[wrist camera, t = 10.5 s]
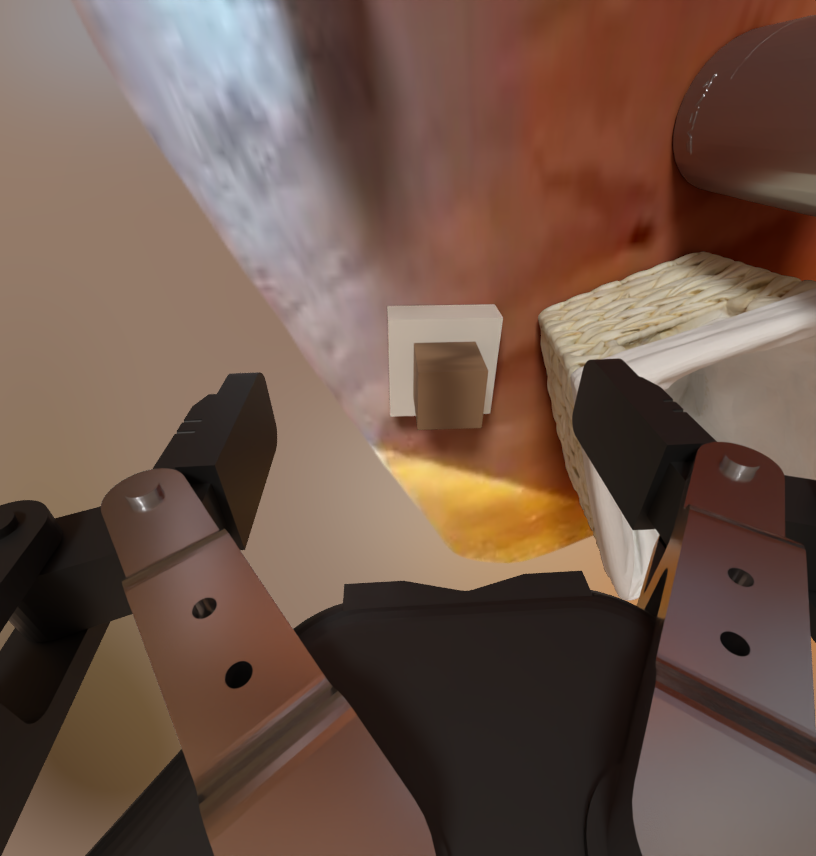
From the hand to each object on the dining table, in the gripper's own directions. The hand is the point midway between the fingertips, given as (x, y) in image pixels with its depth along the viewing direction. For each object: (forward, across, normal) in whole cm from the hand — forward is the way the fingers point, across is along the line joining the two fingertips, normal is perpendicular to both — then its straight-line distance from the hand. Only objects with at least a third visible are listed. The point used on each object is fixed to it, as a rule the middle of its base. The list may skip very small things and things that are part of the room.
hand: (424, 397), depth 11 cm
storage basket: (+27, -21, +16) cm, 38 cm away
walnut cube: (+23, -4, +12) cm, 26 cm away
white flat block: (+26, -4, +12) cm, 29 cm away
